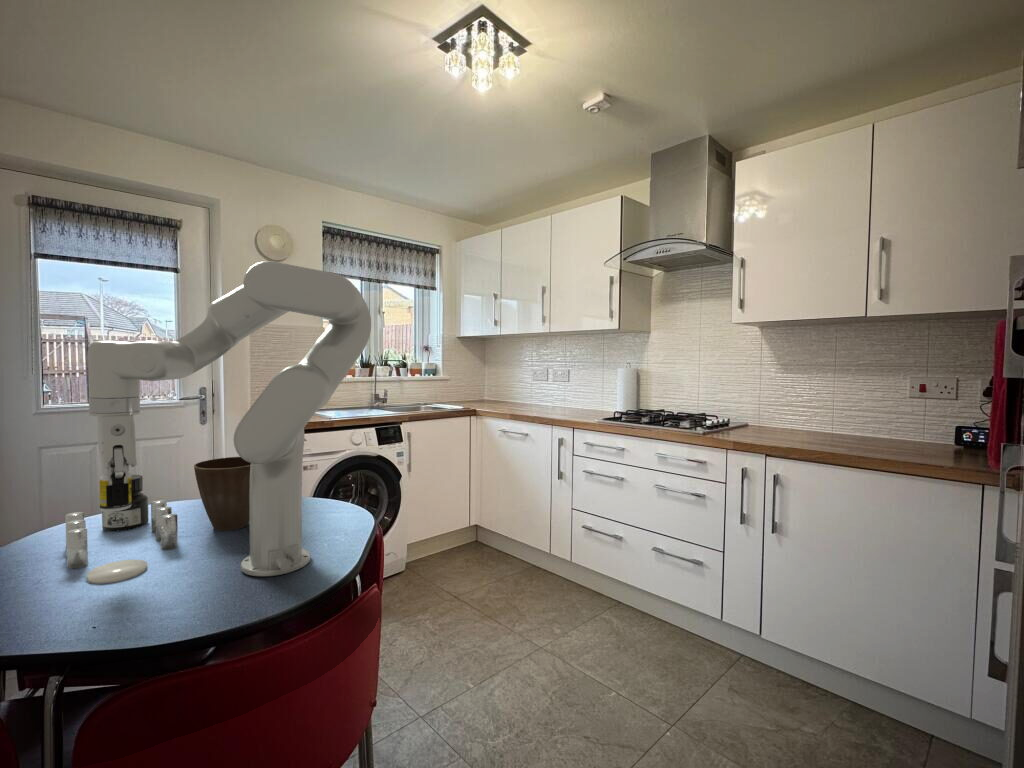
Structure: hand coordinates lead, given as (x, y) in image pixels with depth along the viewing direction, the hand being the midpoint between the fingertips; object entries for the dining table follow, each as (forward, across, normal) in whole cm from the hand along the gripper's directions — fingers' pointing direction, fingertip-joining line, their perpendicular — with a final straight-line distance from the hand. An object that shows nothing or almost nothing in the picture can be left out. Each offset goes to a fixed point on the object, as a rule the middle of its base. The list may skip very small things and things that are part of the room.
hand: (116, 501), depth 94 cm
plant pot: (+14, +16, -23) cm, 31 cm away
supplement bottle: (+2, 0, 0) cm, 2 cm away
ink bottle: (+14, +32, -4) cm, 35 cm away
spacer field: (+14, +16, -2) cm, 21 cm away
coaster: (+14, 0, 0) cm, 14 cm away
